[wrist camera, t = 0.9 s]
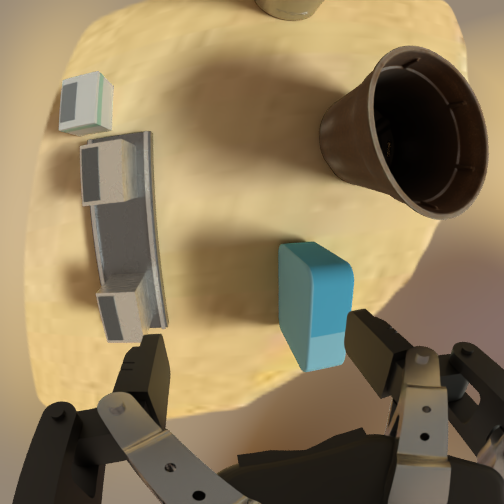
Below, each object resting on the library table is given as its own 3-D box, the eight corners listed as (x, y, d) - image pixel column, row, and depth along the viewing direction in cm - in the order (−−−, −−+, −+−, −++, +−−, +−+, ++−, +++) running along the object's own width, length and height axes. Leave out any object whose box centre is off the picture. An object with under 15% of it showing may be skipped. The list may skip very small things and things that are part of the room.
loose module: (82, 92, 27) (61, 79, 21) (114, 85, 28) (97, 70, 22) (79, 136, 29) (57, 130, 23) (112, 131, 29) (94, 122, 23)
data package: (308, 321, 40) (343, 370, 28) (278, 325, 39) (304, 378, 28) (311, 238, 37) (356, 266, 25) (277, 241, 36) (311, 271, 25)
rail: (91, 141, 29) (64, 134, 22) (152, 133, 30) (138, 121, 23) (113, 323, 35) (97, 354, 28) (168, 321, 36) (162, 354, 29)
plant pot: (303, 202, 35) (373, 223, 20) (296, 79, 31) (357, 24, 16) (404, 200, 38) (488, 218, 22) (398, 95, 33) (478, 73, 18)
